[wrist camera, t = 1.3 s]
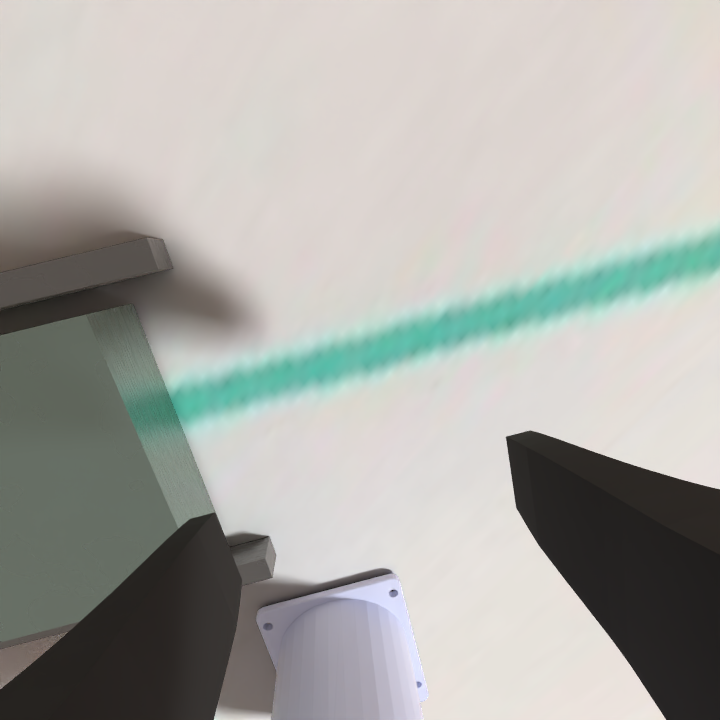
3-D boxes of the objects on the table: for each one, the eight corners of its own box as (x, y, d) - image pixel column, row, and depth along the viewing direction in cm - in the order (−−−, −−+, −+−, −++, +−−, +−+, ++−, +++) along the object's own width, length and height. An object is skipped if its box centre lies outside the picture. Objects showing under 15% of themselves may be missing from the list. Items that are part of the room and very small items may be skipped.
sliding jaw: (224, 535, 19) (204, 588, 16) (38, 582, 19) (-18, 647, 16) (132, 303, 16) (85, 314, 13) (-92, 358, 16) (-195, 383, 13)
